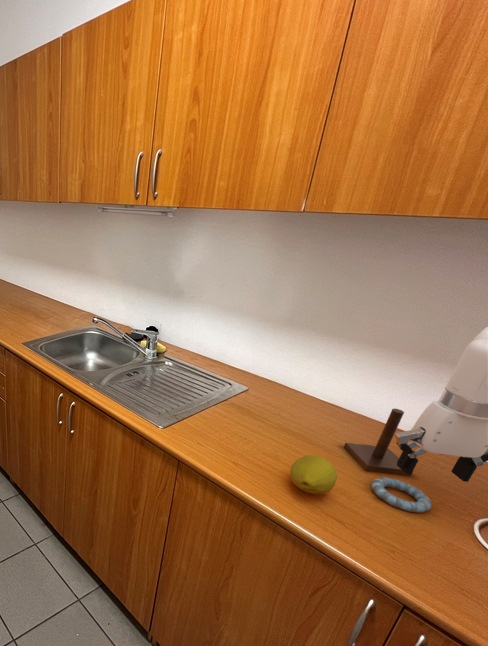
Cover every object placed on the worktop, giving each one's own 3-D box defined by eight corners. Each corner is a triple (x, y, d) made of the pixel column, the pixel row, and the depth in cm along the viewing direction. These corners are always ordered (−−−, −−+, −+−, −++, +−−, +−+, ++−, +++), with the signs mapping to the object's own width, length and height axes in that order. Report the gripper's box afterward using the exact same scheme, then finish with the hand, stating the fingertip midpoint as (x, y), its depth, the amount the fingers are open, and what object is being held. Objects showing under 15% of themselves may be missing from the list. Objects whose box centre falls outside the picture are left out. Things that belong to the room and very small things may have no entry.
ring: (408, 486, 89) (411, 479, 88) (441, 517, 81) (445, 510, 80) (360, 480, 91) (363, 473, 90) (388, 510, 83) (391, 503, 82)
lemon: (300, 470, 94) (310, 443, 91) (339, 491, 88) (351, 462, 85) (274, 486, 90) (284, 458, 87) (313, 509, 83) (325, 480, 80)
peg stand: (384, 451, 100) (407, 402, 94) (410, 476, 92) (437, 423, 86) (343, 447, 102) (363, 399, 96) (365, 470, 94) (388, 419, 88)
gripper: (506, 398, 77) (465, 467, 84) (402, 388, 81) (370, 456, 87) (547, 419, 71) (498, 493, 77) (430, 407, 74) (394, 479, 81)
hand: (430, 473), depth 82 cm, fingers open, 9 cm apart
